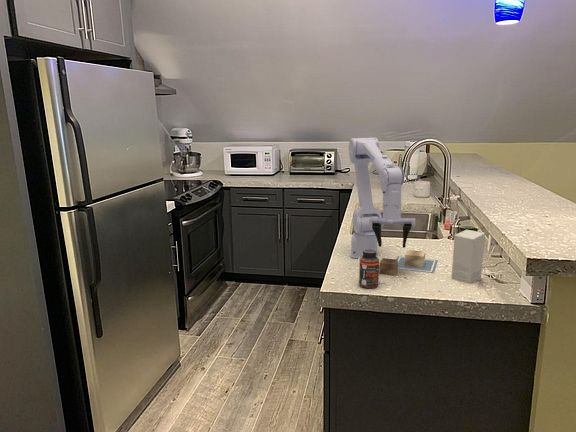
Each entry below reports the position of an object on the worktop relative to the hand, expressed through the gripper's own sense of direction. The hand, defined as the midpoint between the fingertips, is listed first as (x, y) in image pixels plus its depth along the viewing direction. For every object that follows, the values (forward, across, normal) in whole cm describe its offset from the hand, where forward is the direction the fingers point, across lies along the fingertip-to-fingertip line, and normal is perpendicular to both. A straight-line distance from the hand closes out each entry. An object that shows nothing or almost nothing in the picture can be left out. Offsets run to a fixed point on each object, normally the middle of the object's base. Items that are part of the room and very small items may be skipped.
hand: (391, 246), depth 146 cm
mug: (+1, +1, +145) cm, 145 cm away
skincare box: (+11, +23, +2) cm, 25 cm away
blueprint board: (+10, +6, +11) cm, 16 cm away
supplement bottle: (+10, -6, -10) cm, 16 cm away
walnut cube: (+10, -1, 0) cm, 10 cm away
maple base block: (+8, +6, +11) cm, 15 cm away
